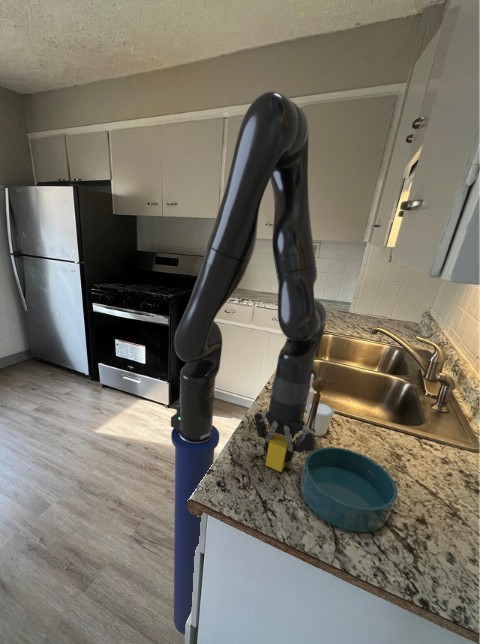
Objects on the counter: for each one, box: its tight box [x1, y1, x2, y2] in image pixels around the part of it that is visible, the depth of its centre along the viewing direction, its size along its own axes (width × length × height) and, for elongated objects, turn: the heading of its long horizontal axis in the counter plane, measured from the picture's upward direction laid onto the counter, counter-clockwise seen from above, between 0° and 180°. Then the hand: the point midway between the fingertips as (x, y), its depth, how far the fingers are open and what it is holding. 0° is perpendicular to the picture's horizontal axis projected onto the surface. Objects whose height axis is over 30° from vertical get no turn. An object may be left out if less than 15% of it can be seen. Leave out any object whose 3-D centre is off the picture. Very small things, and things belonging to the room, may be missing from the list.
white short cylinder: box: [305, 402, 335, 437], centre depth 87 cm, size 7×7×7 cm
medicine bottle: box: [305, 369, 317, 412], centre depth 98 cm, size 7×7×12 cm
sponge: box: [265, 433, 288, 473], centre depth 74 cm, size 4×4×7 cm
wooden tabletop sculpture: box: [296, 375, 334, 452], centre depth 78 cm, size 6×5×20 cm
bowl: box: [299, 446, 398, 533], centre depth 66 cm, size 17×17×6 cm
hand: (277, 456), depth 74 cm, fingers closed on sponge, 4 cm apart
